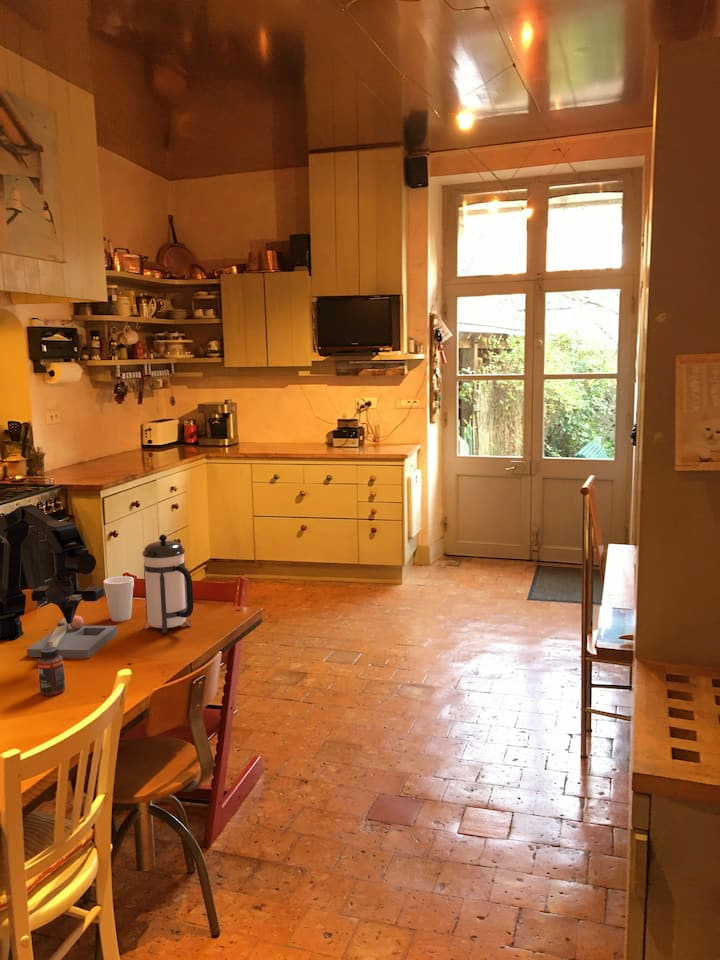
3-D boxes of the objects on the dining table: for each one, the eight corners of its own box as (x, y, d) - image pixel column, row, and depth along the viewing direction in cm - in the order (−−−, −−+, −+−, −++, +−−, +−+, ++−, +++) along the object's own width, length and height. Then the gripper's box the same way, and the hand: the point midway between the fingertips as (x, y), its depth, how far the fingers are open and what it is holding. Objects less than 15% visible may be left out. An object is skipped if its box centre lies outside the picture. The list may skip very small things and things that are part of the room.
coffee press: (137, 637, 234) (131, 540, 230) (149, 620, 250) (144, 530, 246) (194, 635, 235) (189, 539, 231) (203, 619, 250) (198, 529, 246)
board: (27, 657, 218) (26, 649, 218) (61, 633, 239) (61, 625, 239) (88, 658, 217) (87, 650, 217) (117, 633, 238) (117, 625, 237)
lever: (46, 652, 214) (45, 640, 213) (64, 625, 237) (63, 614, 237) (54, 652, 214) (53, 639, 214) (70, 624, 237) (70, 613, 237)
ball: (67, 630, 234) (66, 618, 233) (73, 626, 237) (72, 614, 237) (80, 630, 233) (79, 618, 233) (86, 626, 237) (85, 614, 237)
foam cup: (126, 623, 247) (124, 584, 246) (100, 622, 249) (98, 583, 247) (140, 614, 257) (138, 576, 255) (115, 613, 258) (113, 575, 257)
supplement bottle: (68, 686, 197) (65, 644, 196) (60, 696, 191) (57, 652, 190) (45, 687, 197) (42, 645, 195) (36, 697, 191) (32, 653, 190)
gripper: (18, 576, 206) (22, 632, 208) (85, 576, 205) (89, 633, 207) (39, 566, 217) (43, 619, 219) (102, 566, 216) (106, 620, 218)
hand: (69, 623), depth 215 cm, fingers closed
